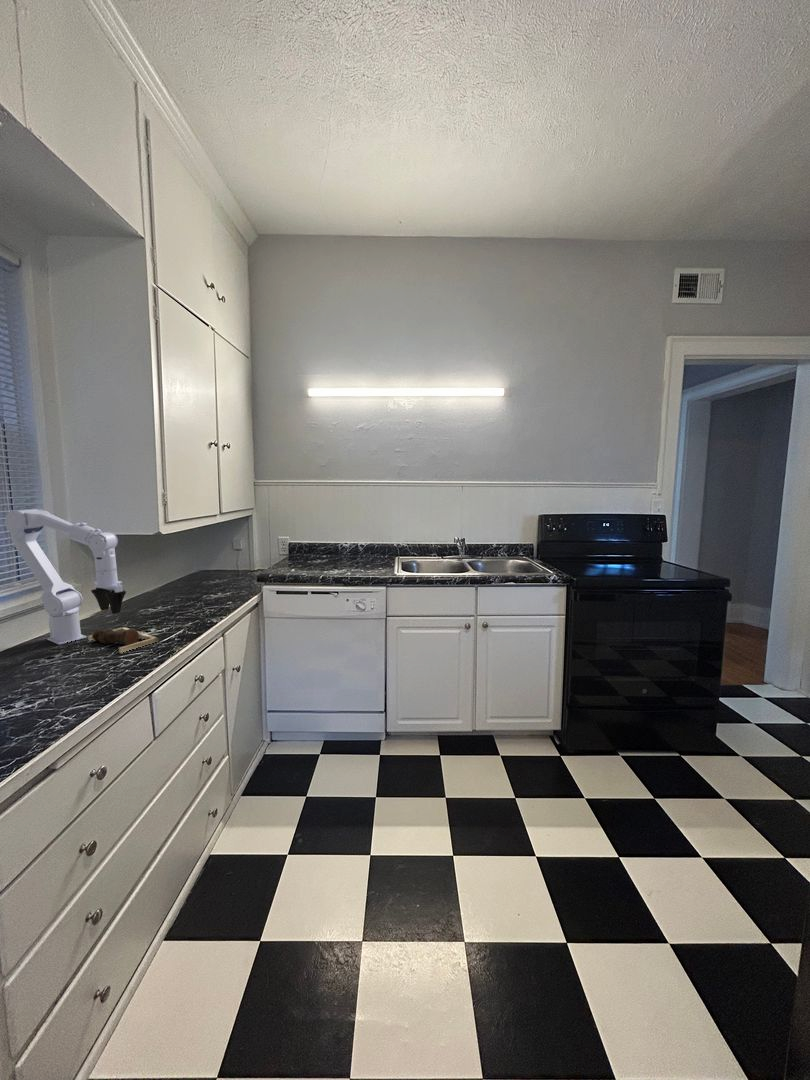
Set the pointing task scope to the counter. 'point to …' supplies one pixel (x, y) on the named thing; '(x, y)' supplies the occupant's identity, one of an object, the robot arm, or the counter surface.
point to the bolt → (116, 636)
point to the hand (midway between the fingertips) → (110, 611)
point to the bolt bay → (148, 640)
